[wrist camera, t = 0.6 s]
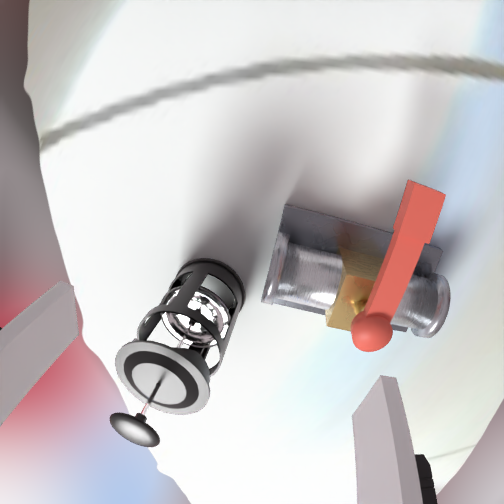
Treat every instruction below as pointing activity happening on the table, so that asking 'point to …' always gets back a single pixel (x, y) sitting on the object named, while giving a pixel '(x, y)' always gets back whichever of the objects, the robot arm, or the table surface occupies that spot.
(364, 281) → the valve body
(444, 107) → the table surface
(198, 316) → the french press
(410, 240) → the lever
